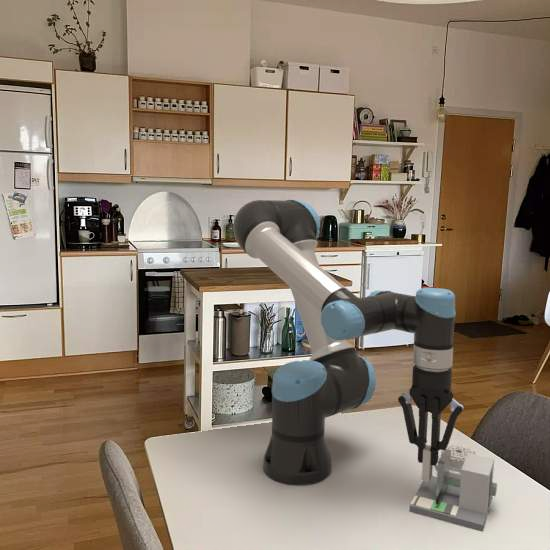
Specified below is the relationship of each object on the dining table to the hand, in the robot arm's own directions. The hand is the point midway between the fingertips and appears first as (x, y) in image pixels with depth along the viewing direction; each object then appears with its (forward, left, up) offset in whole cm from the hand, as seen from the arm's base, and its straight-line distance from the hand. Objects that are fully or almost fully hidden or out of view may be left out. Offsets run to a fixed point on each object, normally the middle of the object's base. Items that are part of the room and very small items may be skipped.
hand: (426, 478), depth 115 cm
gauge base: (+5, -1, -4) cm, 7 cm away
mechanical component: (+4, +15, -4) cm, 16 cm away
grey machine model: (+8, -1, -2) cm, 8 cm away
